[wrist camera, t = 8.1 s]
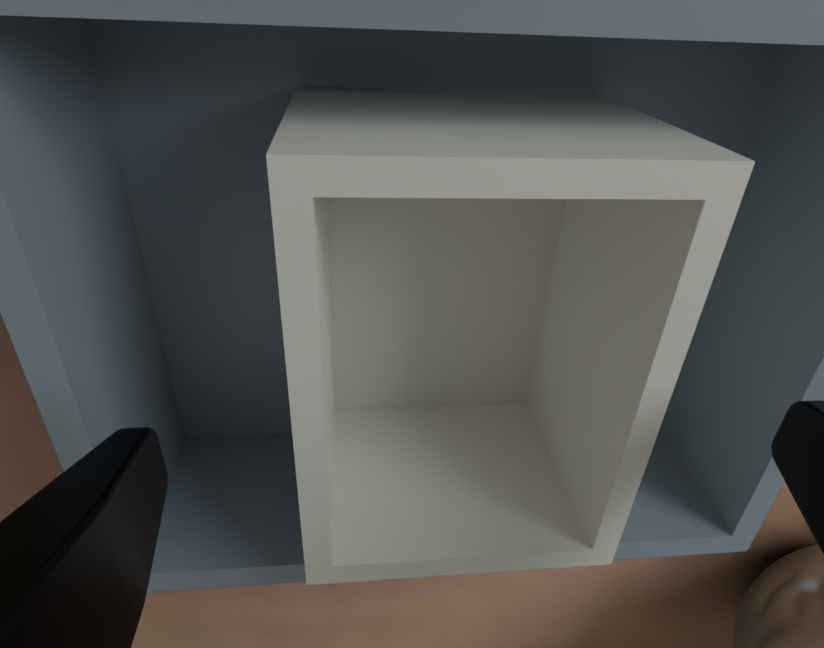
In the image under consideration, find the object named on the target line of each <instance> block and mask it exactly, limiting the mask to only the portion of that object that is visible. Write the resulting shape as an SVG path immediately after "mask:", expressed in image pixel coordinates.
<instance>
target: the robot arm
mask: <svg viewBox="0 0 824 648" xmlns="http://www.w3.org/2000/svg"><path fill="white" fill-rule="evenodd" d="M771 453H772V457H773V459H774V461H775V463H776V465H777V467H778V469H779V471H780V473H781V475H782V477H783V479H784V481H785V483H786V484H787V486H788V488H789V490H790V492H791V494H792V496H793V498H794V500H795V502H796V504H797V505H798V507H799V509H800V511H801V513H802V515H803V517H804V519H805V521H806V523H807V525H808V526H809V528H810V530H811V532H812V534H813V536H814V538H815V540H816V542H817V543H818V545H819V547H820V549H821V551H822V552H823V554H824V401H822V400H812V401H798V402H795V403H794V404H792V405H791V406H790V407H789V409H788V410H787V412H786V414H785V416H784V418H783V420H782V422H781V424H780V426H779V428H778V430H777V432H776V434H775V436H774V438H773V441H772V444H771ZM167 486H168V475H167V469H166V465H165V462H164V458H163V454H162V450H161V447H160V443H159V439H158V436H157V433H156V432H155V430H154V429H153V428H150V427H131V428H121V429H118V430H117V431H115V432H114V433H112V434H111V435H110V436H109V437H107V438H106V439H105V440H104V441H102V442H101V443H100V444H98V445H97V446H96V447H95V448H93V449H92V450H91V451H90V452H88V453H87V454H86V455H85V456H83V457H82V458H81V459H79V460H78V461H77V462H76V463H74V464H73V465H72V466H71V467H69V468H68V469H67V470H66V471H64V472H63V473H62V474H60V475H59V476H58V477H57V478H55V479H54V480H53V481H52V482H50V483H49V484H48V485H47V486H45V487H44V488H43V489H41V490H40V491H39V492H38V493H36V494H35V495H34V496H33V497H31V498H30V499H29V500H28V501H26V502H25V503H24V504H22V505H21V506H20V507H19V508H17V509H16V510H15V511H14V512H12V513H11V514H10V515H9V516H7V517H6V518H5V519H3V520H2V521H1V522H0V648H131V645H132V642H133V639H134V636H135V633H136V630H137V626H138V623H139V620H140V616H141V613H142V609H143V606H144V602H145V598H146V593H147V589H148V584H149V579H150V574H151V569H152V564H153V559H154V554H155V549H156V544H157V539H158V534H159V529H160V524H161V518H162V513H163V508H164V503H165V498H166V493H167Z"/></svg>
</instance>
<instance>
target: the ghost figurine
mask: <svg viewBox="0 0 824 648" xmlns="http://www.w3.org/2000/svg"><path fill="white" fill-rule="evenodd" d="M733 648H824V554H823V552H822V551H821V549H820V547H819V545H818V544H816V545H812V546H808V547H805V548H802V549H799V550H796V551H794V552H792V553H789V554H787V555H785V556H784V557H782V558H780V559H778V560H777V561H775V562H774V563H773V564H771V565H770V566H769V567H767V568H766V569H765V570H764V571H763V572H762V573H761V574H760V575H759V576H758V577H757V578H756V579H755V581H754V582H753V583H752V585H751V586H750V587H749V589H748V591H747V592H746V594H745V596H744V598H743V600H742V602H741V604H740V607H739V610H738V613H737V616H736V621H735V626H734V633H733Z"/></svg>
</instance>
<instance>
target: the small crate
mask: <svg viewBox="0 0 824 648" xmlns="http://www.w3.org/2000/svg"><path fill="white" fill-rule="evenodd" d="M266 160H267V171H268V181H269V192H270V202H271V213H272V224H273V234H274V245H275V256H276V266H277V277H278V288H279V298H280V309H281V319H282V330H283V341H284V351H285V362H286V373H287V383H288V394H289V405H290V415H291V426H292V436H293V447H294V458H295V468H296V479H297V490H298V500H299V511H300V521H301V532H302V543H303V553H304V564H305V575H306V585H316V584H330V583H345V582H359V581H374V580H388V579H403V578H417V577H432V576H446V575H461V574H476V573H490V572H505V571H519V570H534V569H548V568H563V567H577V566H592V565H606V564H612V561H613V558H614V555H615V552H616V550H617V547H618V544H619V541H620V538H621V536H622V533H623V530H624V527H625V524H626V522H627V519H628V516H629V513H630V510H631V508H632V505H633V502H634V499H635V496H636V494H637V491H638V488H639V485H640V482H641V480H642V477H643V474H644V471H645V469H646V466H647V463H648V460H649V457H650V455H651V452H652V449H653V446H654V443H655V441H656V438H657V435H658V432H659V429H660V427H661V424H662V421H663V418H664V415H665V413H666V410H667V407H668V404H669V401H670V399H671V396H672V393H673V390H674V387H675V385H676V382H677V379H678V376H679V374H680V371H681V368H682V365H683V362H684V360H685V357H686V354H687V351H688V348H689V346H690V343H691V340H692V337H693V334H694V332H695V329H696V326H697V323H698V320H699V318H700V315H701V312H702V309H703V306H704V304H705V301H706V298H707V295H708V292H709V290H710V287H711V284H712V281H713V278H714V276H715V273H716V270H717V267H718V265H719V262H720V259H721V256H722V253H723V251H724V248H725V245H726V242H727V239H728V237H729V234H730V231H731V228H732V225H733V223H734V220H735V217H736V214H737V211H738V209H739V206H740V203H741V200H742V197H743V195H744V192H745V189H746V186H747V183H748V181H749V178H750V175H751V172H752V170H753V167H754V164H755V161H754V160H751V159H749V158H747V157H744V156H742V155H740V154H737V153H735V152H733V151H731V150H728V149H726V148H724V147H721V146H719V145H717V144H714V143H712V142H710V141H707V140H705V139H703V138H701V137H698V136H696V135H694V134H691V133H689V132H687V131H684V130H682V129H680V128H677V127H675V126H673V125H671V124H668V123H666V122H664V121H661V120H659V119H657V118H654V117H652V116H650V115H647V114H645V113H643V112H641V111H638V110H636V109H634V108H631V107H629V106H627V105H624V104H622V103H620V102H618V101H615V100H613V99H611V98H608V97H606V96H604V95H601V94H583V93H546V92H510V91H473V90H437V89H400V88H364V87H327V86H297V88H296V90H295V92H294V94H293V97H292V99H291V101H290V103H289V105H288V108H287V110H286V112H285V114H284V116H283V118H282V121H281V123H280V125H279V127H278V129H277V131H276V134H275V136H274V138H273V140H272V142H271V145H270V147H269V149H268V151H267V153H266Z"/></svg>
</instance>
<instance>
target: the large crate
mask: <svg viewBox="0 0 824 648" xmlns="http://www.w3.org/2000/svg"><path fill="white" fill-rule="evenodd" d="M297 86H327V87H364V88H400V89H437V90H473V91H510V92H546V93H583V94H601V95H604V96H606V97H608V98H611V99H613V100H615V101H618V102H620V103H622V104H624V105H627V106H629V107H631V108H634V109H636V110H638V111H641V112H643V113H645V114H647V115H650V116H652V117H654V118H657V119H659V120H661V121H664V122H666V123H668V124H671V125H673V126H675V127H677V128H680V129H682V130H684V131H687V132H689V133H691V134H694V135H696V136H698V137H701V138H703V139H705V140H707V141H710V142H712V143H714V144H717V145H719V146H721V147H724V148H726V149H728V150H731V151H733V152H735V153H737V154H740V155H742V156H744V157H747V158H749V159H751V160H754V161H755V164H754V167H753V170H752V172H751V175H750V178H749V181H748V183H747V186H746V189H745V192H744V195H743V197H742V200H741V203H740V206H739V209H738V211H737V214H736V217H735V220H734V223H733V225H732V228H731V231H730V234H729V237H728V239H727V242H726V245H725V248H724V251H723V253H722V256H721V259H720V262H719V265H718V267H717V270H716V273H715V276H714V278H713V281H712V284H711V287H710V290H709V292H708V295H707V298H706V301H705V304H704V306H703V309H702V312H701V315H700V318H699V320H698V323H697V326H696V329H695V332H694V334H693V337H692V340H691V343H690V346H689V348H688V351H687V354H686V357H685V360H684V362H683V365H682V368H681V371H680V374H679V376H678V379H677V382H676V385H675V387H674V390H673V393H672V396H671V399H670V401H669V404H668V407H667V410H666V413H665V415H664V418H663V421H662V424H661V427H660V429H659V432H658V435H657V438H656V441H655V443H654V446H653V449H652V452H651V455H650V457H649V460H648V463H647V466H646V469H645V471H644V474H643V477H642V480H641V482H640V485H639V488H638V491H637V494H636V496H635V499H634V502H633V505H632V508H631V510H630V513H629V516H628V519H627V522H626V524H625V527H624V530H623V533H622V536H621V538H620V541H619V544H618V547H617V550H616V552H615V555H614V558H613V560H625V559H640V558H654V557H669V556H683V555H698V554H712V553H726V552H741V551H748V549H749V547H750V545H751V543H752V541H753V540H754V538H755V536H756V534H757V532H758V530H759V528H760V527H761V525H762V523H763V521H764V519H765V517H766V516H767V514H768V512H769V510H770V508H771V506H772V505H773V503H774V501H775V499H776V497H777V495H778V494H779V492H780V490H781V488H782V486H783V484H784V483H785V481H784V479H783V477H782V475H781V473H780V471H779V469H778V467H777V465H776V463H775V461H774V459H773V457H772V453H771V444H772V441H773V438H774V436H775V434H776V432H777V430H778V428H779V426H780V424H781V422H782V420H783V418H784V416H785V414H786V412H787V410H788V409H789V407H790V406H791V405H792V404H794V403H795V402H798V401H812V400H822V401H824V0H0V313H1V316H2V318H3V321H4V323H5V326H6V328H7V331H8V333H9V336H10V338H11V341H12V343H13V346H14V348H15V351H16V353H17V356H18V358H19V361H20V363H21V366H22V369H23V371H24V374H25V376H26V379H27V381H28V384H29V386H30V389H31V391H32V394H33V396H34V399H35V401H36V404H37V406H38V409H39V411H40V414H41V416H42V419H43V421H44V424H45V426H46V429H47V431H48V434H49V436H50V439H51V441H52V444H53V446H54V449H55V451H56V454H57V456H58V459H59V461H60V464H61V466H62V469H63V472H64V471H66V470H67V469H68V468H69V467H71V466H72V465H73V464H74V463H76V462H77V461H78V460H79V459H81V458H82V457H83V456H85V455H86V454H87V453H88V452H90V451H91V450H92V449H93V448H95V447H96V446H97V445H98V444H100V443H101V442H102V441H104V440H105V439H106V438H107V437H109V436H110V435H111V434H112V433H114V432H115V431H117V430H118V429H121V428H131V427H150V428H153V429H154V430H155V432H156V433H157V436H158V439H159V443H160V447H161V450H162V454H163V458H164V462H165V465H166V469H167V475H168V486H167V493H166V498H165V503H164V508H163V513H162V518H161V524H160V529H159V534H158V539H157V544H156V549H155V554H154V559H153V564H152V569H151V574H150V579H149V584H148V589H147V593H149V592H163V591H178V590H192V589H206V588H221V587H235V586H250V585H264V584H279V583H293V582H306V575H305V564H304V553H303V543H302V532H301V521H300V511H299V500H298V490H297V479H296V468H295V458H294V447H293V436H292V426H291V415H290V405H289V394H288V383H287V373H286V362H285V351H284V341H283V330H282V319H281V309H280V298H279V288H278V277H277V266H276V256H275V245H274V234H273V224H272V213H271V202H270V192H269V181H268V171H267V160H266V153H267V151H268V149H269V147H270V145H271V142H272V140H273V138H274V136H275V134H276V131H277V129H278V127H279V125H280V123H281V121H282V118H283V116H284V114H285V112H286V110H287V108H288V105H289V103H290V101H291V99H292V97H293V94H294V92H295V90H296V88H297Z"/></svg>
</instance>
